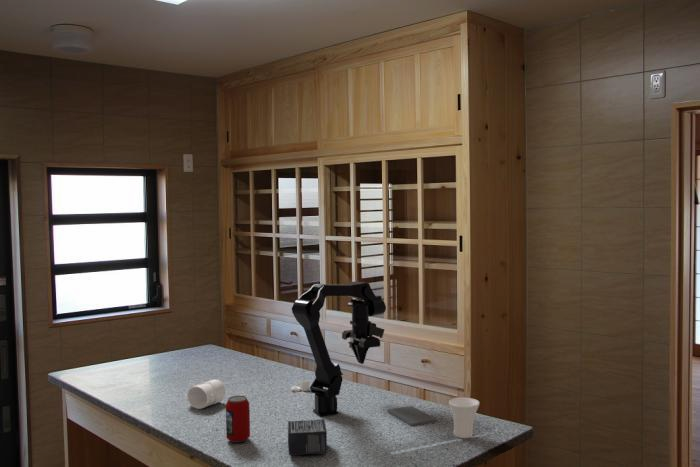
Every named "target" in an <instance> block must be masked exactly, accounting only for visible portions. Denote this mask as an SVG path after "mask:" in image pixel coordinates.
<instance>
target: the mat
mask: <svg viewBox="0 0 700 467" xmlns="http://www.w3.org/2000/svg"><path fill="white" fill-rule="evenodd" d="M387 413H388V414H389V415H391V416H393V417H395V418H397V419H399V420H401V421H402V422H403V423H405V424H406V425H408V426H410V427H414V426H419V425H424V424H425V425H426V424H429V423H430V424H431V423H436V422H437V418H435V417H434V416H432V415H430V414H427V413H425V412H424V411H423V410H421V409H419V408H417V407H415V406H412V405H408V406H404V407H397V408H391V409H387Z"/></svg>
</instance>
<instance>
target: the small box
mask: <svg viewBox="0 0 700 467" xmlns="http://www.w3.org/2000/svg"><path fill="white" fill-rule="evenodd" d="M327 435H328V434H327V428H326V422H325V419H312V420H311V419H309V420H289V421H288V422H287V444H288V445H287V446H288V447H287V448H288V455H289V456H291V455H293V456H295V455H296V456H297V455H314V454H315V455H317V454H327V453H328V451H327V450H328V448H327V447H328V446H327V444H328V443H327V442H328V440H327V439H328V438H327Z"/></svg>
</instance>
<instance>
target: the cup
mask: <svg viewBox="0 0 700 467" xmlns="http://www.w3.org/2000/svg"><path fill="white" fill-rule="evenodd" d="M480 403H481V402H480V401H479V400H477V399H475V398H471V397H455V398H451V399H450V400H449V401H448V404H449V406H450V410H451V415H452V418H453V420H452V421H453V435H454V437H456V438H460V439H469V438H472V437H473V435H474V423H475V422H474V420H475V418H476V415H477V411H478V409H479V407H480Z"/></svg>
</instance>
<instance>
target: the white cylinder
mask: <svg viewBox="0 0 700 467" xmlns="http://www.w3.org/2000/svg"><path fill="white" fill-rule="evenodd" d="M225 396H226V388H225V386H224V384H223V382H222V381H221V380H219V379H211V380H208V381H205V382H201V383H198V384H195V385H193V386H192V387H189V389H188V391H187V400H188V402H189V404H190V406H192V407H193V408H195V409H198V410H201V409H204V408H206V407H209V406H214V405H216V404H218V403H221V402H222V401H224V400H225Z"/></svg>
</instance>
